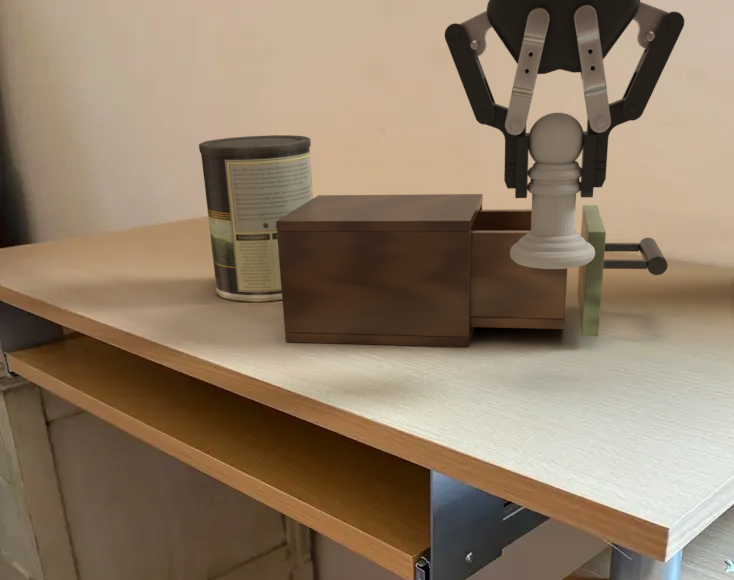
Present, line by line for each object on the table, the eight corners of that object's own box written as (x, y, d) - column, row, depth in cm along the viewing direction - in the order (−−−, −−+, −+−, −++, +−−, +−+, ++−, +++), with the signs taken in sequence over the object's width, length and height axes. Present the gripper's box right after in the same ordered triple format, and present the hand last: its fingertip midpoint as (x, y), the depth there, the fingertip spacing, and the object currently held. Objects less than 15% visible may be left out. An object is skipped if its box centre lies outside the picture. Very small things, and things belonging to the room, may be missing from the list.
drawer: (647, 297, 71) (656, 204, 68) (664, 338, 61) (676, 231, 58) (436, 293, 75) (435, 205, 72) (418, 332, 64) (416, 231, 61)
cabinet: (481, 302, 75) (482, 193, 71) (468, 347, 63) (470, 220, 60) (324, 299, 78) (317, 195, 74) (285, 342, 66) (275, 221, 62)
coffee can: (194, 297, 80) (175, 145, 75) (252, 273, 89) (240, 135, 83) (285, 306, 76) (272, 146, 70) (337, 280, 84) (330, 135, 79)
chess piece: (551, 275, 50) (558, 117, 46) (492, 260, 54) (494, 114, 50) (612, 261, 52) (624, 110, 49) (551, 247, 57) (558, 108, 53)
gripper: (428, -129, 43) (433, 208, 50) (718, -156, 40) (682, 205, 47) (445, -106, 50) (447, 188, 56) (694, -128, 47) (665, 185, 54)
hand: (554, 194), depth 52 cm, fingers closed on chess piece, 3 cm apart
